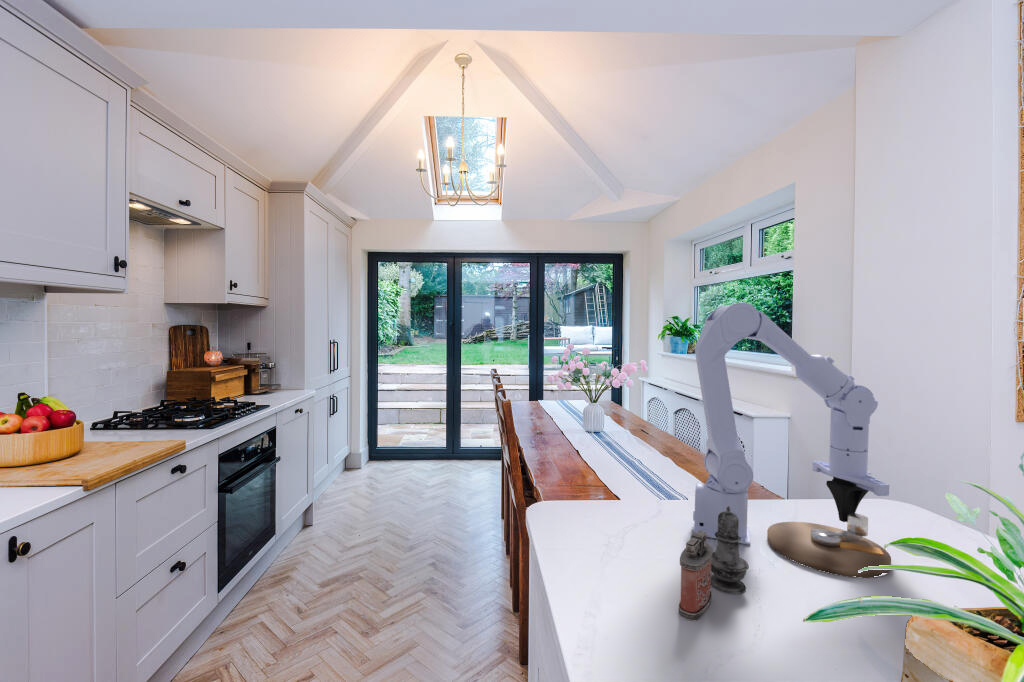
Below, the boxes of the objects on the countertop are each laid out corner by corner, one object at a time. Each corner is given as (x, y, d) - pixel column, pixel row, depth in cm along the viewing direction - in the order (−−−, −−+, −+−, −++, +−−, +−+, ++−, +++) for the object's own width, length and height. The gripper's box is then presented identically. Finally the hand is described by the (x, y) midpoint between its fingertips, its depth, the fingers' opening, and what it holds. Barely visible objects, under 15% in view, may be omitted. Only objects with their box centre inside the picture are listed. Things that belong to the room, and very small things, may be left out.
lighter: (692, 588, 68) (694, 522, 68) (716, 597, 66) (718, 529, 66) (673, 613, 62) (674, 540, 62) (698, 624, 60) (700, 548, 60)
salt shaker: (753, 597, 66) (755, 515, 66) (710, 592, 67) (712, 511, 67) (741, 576, 72) (743, 501, 72) (702, 572, 73) (703, 497, 73)
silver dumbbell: (826, 547, 78) (826, 525, 78) (804, 536, 83) (805, 515, 83) (875, 542, 81) (876, 520, 81) (852, 531, 85) (852, 510, 85)
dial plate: (772, 562, 77) (772, 552, 77) (763, 522, 93) (763, 514, 93) (908, 588, 69) (908, 577, 69) (872, 540, 85) (872, 531, 85)
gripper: (906, 458, 78) (903, 537, 78) (835, 438, 92) (833, 505, 92) (869, 459, 77) (866, 539, 77) (803, 439, 91) (801, 506, 91)
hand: (846, 521), depth 85 cm, fingers closed
